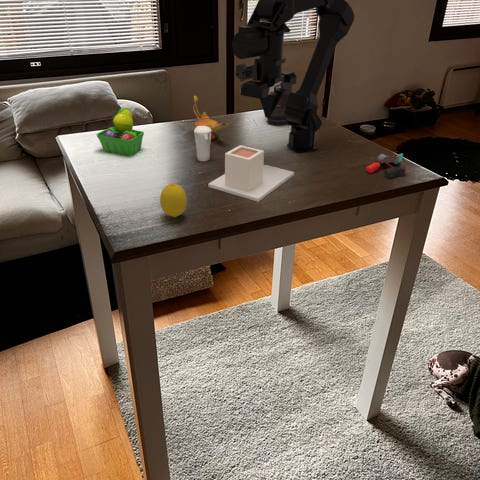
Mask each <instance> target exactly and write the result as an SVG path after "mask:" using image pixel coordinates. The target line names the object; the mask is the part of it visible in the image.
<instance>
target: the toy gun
mask: <svg viewBox="0 0 480 480" xmlns="http://www.w3.org/2000/svg"><path fill="white" fill-rule="evenodd" d="M403 156H404V153H399V154H397V156H396V157H395V159H394V158H392V157H389V156H387V155H386V154H385V153H381V154H379V155H378V156H377V158H376V159H375V162H373V163H371V164H369V165H368V166H367V167H366V170H365V171H366V172H367V173H368V174H372V173H374V172H377V171H378V170H384V172H383V173H384V174H383V177H384V178H385V179H387V180H391V179H393V178H397V177H404V176H405V175H406V170H407V167H406V166H404V164H402V161H403Z"/></svg>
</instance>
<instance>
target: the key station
mask: <svg viewBox="0 0 480 480" xmlns="http://www.w3.org/2000/svg"><path fill="white" fill-rule="evenodd" d="M241 149H243V150H247V151H251V152H255V153H256V154H254V155H252V156H251V157H249V158H246V157H242V156H239V155H235V154H234V153H236V152H238V151H240V150H241ZM264 155H265V151H264V150H262V149H258V148H253V147H249V146H245V145H242V144H240V145H238V146H236V147H234V148H233V149H231V150H229V151H226V152H225V153H224V174H222V175H221V176H219V177H216V178H215V179H214V180H212V181H210V182H209V183H208V185H207V186H208V188H211V189H215V190H217V191H220V192H224V193H227V194H230V195H234V196H238V197H241V198H243V199H247V200H251V201H254V202H257V203H259V202H260V201H261V200H263V199H264V198H265V197H267V196H268V195H269V194H271V193H272V192H273V191H275V190H276V189H277V188H279V187H280V186H281V185H283V184H285V183H286V182H287V181H288V180H290V179H291V178H292V177H294V175H295V171H291V170H287V169H283V168H279V167H275V166H271V165H268V164H264V161H265V159H264V158H265V157H264Z"/></svg>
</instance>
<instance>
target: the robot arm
mask: <svg viewBox="0 0 480 480" xmlns="http://www.w3.org/2000/svg"><path fill="white" fill-rule="evenodd" d="M253 9H254V10H253V11H252V13H251V15H250V17H249V18H248V22H247V23H246V26H245V25H240V26H238V28H237V31H238V32H236V33H235V35H234V36H233V38H232V40H231V49H232V52H233V55H234V56H235V57H236V58H237V59H239V60H244V59H250V58H255V57H256V58H255V59H254V60H253V61H254V63H253V64H250V65H246V64H245V62H244V63H240V64H237V65H235V73H234V75H235V77H236V78H237V79H239V82H241V83H242V82H243V83H242V84H241V85H240V86H239V95H240V96H243V97H244V96H245V97H248V98H254V99H258V100H260V103H261V107H262V111H263V115H264V118H266V119H267V118H270V117H271V115H272V113H273V111H274V109H275V107H276V105H277V103H278V101H279V100H280V98H281V96H282V94H283V93H284V92H285V89H283V88H281V85H280V83H282V82H288V83H289V85H292V86H294V85H296V84H297V74H295V72H294V71H288V70H283V69H282V68H283V64H285V63H286V57H284V56H283V55H284V53H283V50H284V39H285V38H284V36H285V34H287V33H288V34H289V33H291V28H289V26H287V24H286V23H287V22H289V21H291V20H292V19H293V18H294V16H295V15H298V14H300V13H302V12H306V11H310V10H313V9H315V13H316V14H317V16H318V17H319V20H318V24H317V25H318V31H319V32H318V33H319V37H318V41H317V43H316V46H315V48H314V51H313V54H312V57H311V59H310V61H309V64H308V66H307V69H306V72H305V74H304V77H303V79H302V82H301V84H300V87H299V89H298V90H297V91H296V92H293V91H292V92H291V93H290V94H289V97H288V101H287V103H286V104H285V111H284V114H285V117H286V122H287V124H286V126H290V132H289V134H288V143H286V146H287V147H289V148H290V149H291V150H293V151H294V152H295V153H304V152H310V151H316V150H317V147H316V146H315V137H316V136H315V135H316V132H318V130H320V129H321V127H322V123H323V121H322V120H321V118H320V117H319V115H318V114H317V112H318V108H319V104H318V103H319V102H318V92H319V91H320V87H321V85H322V83H323V80H324V78H325V75H326V73H327V70H328V68H329V65H330V62H331V59H332V57H333V55H334V53H335V50H336V47H337V44H339V42H340V41H341V40H343V39H344V37H346V36H347V35H348V33H349V31H350V29H351V27H352V25H353V23H354V21H355V14H354V10H353V8H352V6H351V5H350V4H349V2H347V1H346V0H258V1H257V3H256V5H255V8H253ZM249 79H252V80H249ZM246 80H248V81H246ZM244 81H246V82H244Z"/></svg>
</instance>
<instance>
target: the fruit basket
mask: <svg viewBox="0 0 480 480" xmlns="http://www.w3.org/2000/svg"><path fill="white" fill-rule="evenodd" d="M129 109H130V108H128V107H121V108H120V109H119V110H118V112H117V114H116V115H115V116H114V118H113V120H112V122H113V125H114V126H112V127H108V128H106V129H103V130H102V131H100V132H97V134H95V135H96V138H97V139H98V140H99V143H100V145H101V147H102V149H103V151H104V152H108V153H113V154H119V155H126V156H129V157H131V156H133V155H134V154H136V153H137V152H139V151H141V149H142V145H143V144H142V143H143V139H144V135H145V132H144V131H142V130H135V129H133V128H134V120H133V114H132V112H131V110H129Z"/></svg>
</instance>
